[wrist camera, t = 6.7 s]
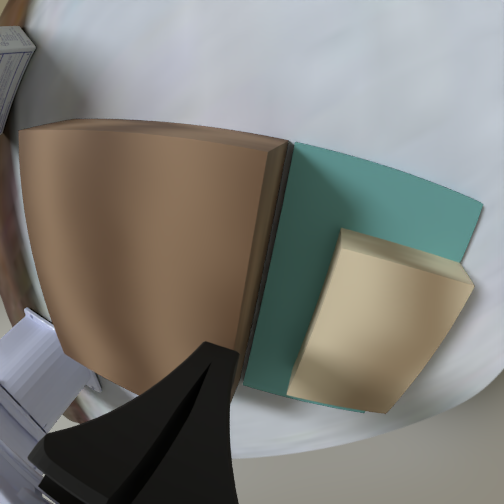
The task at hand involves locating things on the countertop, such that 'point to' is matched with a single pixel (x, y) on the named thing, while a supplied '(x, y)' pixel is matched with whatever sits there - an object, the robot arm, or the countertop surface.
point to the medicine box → (12, 66)
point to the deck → (148, 238)
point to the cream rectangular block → (376, 322)
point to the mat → (325, 238)
